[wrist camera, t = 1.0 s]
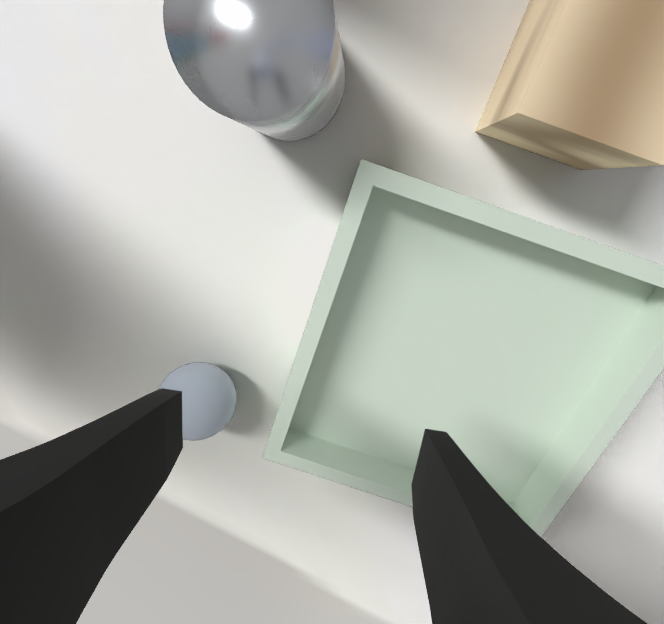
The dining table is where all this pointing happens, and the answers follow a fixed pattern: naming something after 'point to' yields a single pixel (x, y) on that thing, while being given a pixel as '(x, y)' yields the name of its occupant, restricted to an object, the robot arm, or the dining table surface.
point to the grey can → (260, 61)
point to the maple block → (584, 84)
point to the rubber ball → (203, 398)
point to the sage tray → (466, 347)
